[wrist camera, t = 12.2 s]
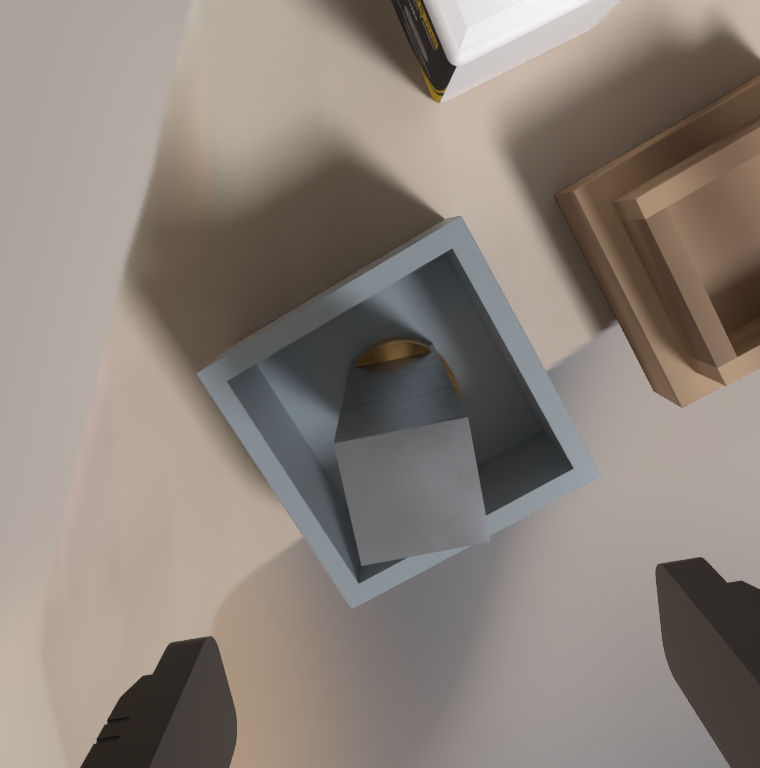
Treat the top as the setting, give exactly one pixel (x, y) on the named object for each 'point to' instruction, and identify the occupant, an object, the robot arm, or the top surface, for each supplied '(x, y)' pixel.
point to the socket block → (681, 245)
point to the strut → (407, 454)
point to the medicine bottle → (488, 36)
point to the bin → (328, 379)
